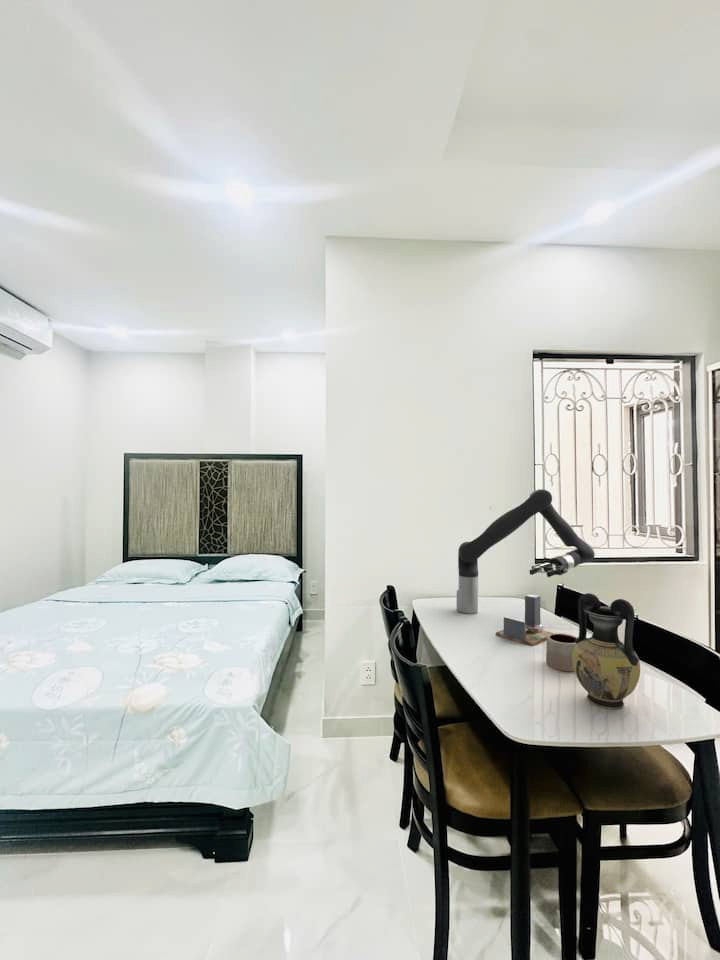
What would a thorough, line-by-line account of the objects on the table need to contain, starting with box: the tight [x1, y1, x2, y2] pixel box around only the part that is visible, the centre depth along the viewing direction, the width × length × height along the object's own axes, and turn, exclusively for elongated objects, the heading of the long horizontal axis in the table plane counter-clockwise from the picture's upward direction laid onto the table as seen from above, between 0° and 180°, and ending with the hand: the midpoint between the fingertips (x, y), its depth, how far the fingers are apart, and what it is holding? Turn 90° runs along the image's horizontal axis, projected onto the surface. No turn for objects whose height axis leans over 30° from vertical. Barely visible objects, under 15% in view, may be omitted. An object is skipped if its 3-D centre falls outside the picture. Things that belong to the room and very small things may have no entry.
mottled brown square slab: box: [495, 629, 554, 647], centre depth 188 cm, size 16×18×1 cm
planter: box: [545, 632, 578, 673], centre depth 157 cm, size 11×11×10 cm
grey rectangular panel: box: [503, 615, 526, 640], centre depth 183 cm, size 9×1×7 cm, turn 40°
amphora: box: [572, 592, 641, 710], centre depth 131 cm, size 18×17×30 cm
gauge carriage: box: [524, 593, 544, 633], centre depth 189 cm, size 7×11×14 cm, turn 130°
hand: (538, 573), depth 197 cm, fingers open, 8 cm apart
